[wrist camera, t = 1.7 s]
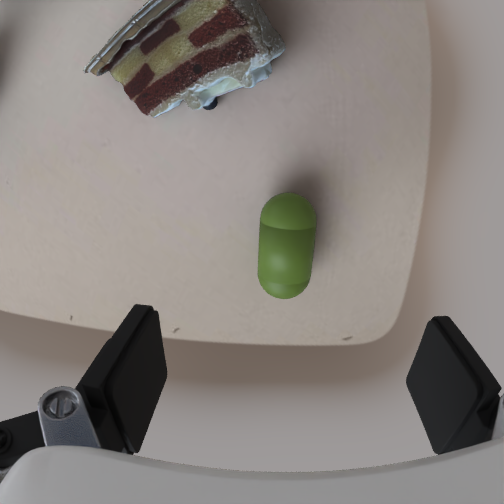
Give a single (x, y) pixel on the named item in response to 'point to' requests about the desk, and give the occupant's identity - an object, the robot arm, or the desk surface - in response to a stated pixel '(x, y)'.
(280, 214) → the pickle
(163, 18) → the layered cake slice
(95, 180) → the desk surface
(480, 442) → the robot arm
